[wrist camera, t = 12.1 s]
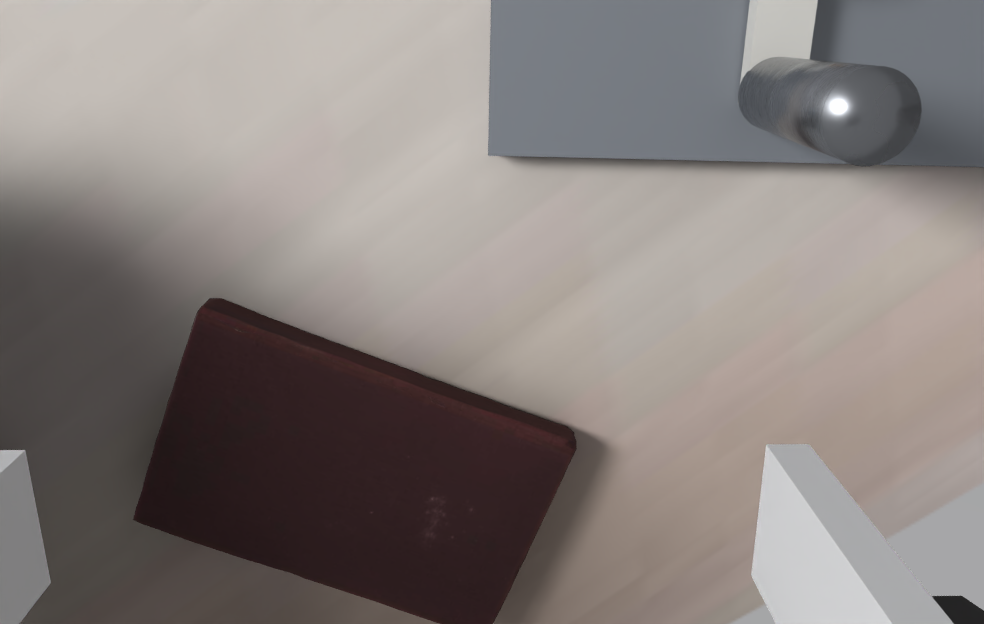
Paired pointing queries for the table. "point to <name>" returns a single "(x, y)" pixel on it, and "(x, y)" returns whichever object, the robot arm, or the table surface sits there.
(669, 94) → the dial base plate
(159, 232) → the table surface
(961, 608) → the robot arm
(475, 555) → the book
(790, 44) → the white grey handled piece
